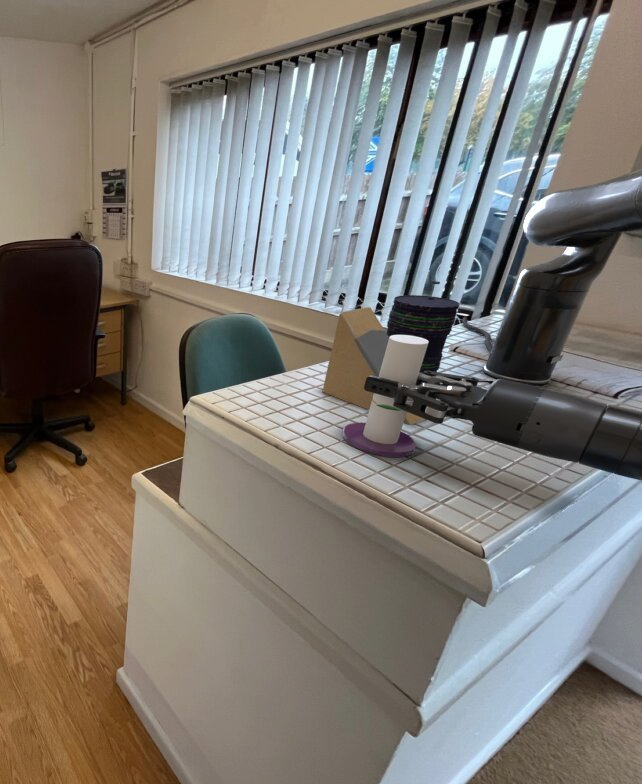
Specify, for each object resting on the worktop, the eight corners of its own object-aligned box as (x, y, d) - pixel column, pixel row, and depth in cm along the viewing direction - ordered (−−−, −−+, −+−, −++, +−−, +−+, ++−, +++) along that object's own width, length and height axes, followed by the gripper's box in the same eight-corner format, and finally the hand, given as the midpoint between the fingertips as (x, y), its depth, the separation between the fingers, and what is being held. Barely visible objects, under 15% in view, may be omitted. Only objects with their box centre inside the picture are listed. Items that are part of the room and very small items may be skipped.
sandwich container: (411, 426, 72) (441, 334, 66) (320, 392, 84) (339, 312, 78) (441, 413, 75) (472, 325, 69) (350, 382, 88) (369, 305, 82)
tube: (356, 430, 69) (381, 335, 63) (383, 429, 70) (411, 334, 64) (376, 445, 65) (406, 345, 59) (405, 443, 66) (437, 343, 60)
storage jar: (425, 390, 84) (457, 292, 77) (365, 375, 91) (390, 284, 84) (441, 376, 90) (473, 283, 82) (384, 363, 97) (408, 277, 89)
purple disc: (344, 421, 74) (345, 417, 73) (413, 435, 69) (414, 431, 69) (340, 446, 67) (341, 441, 67) (416, 464, 62) (418, 459, 62)
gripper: (561, 375, 56) (399, 343, 69) (534, 407, 48) (357, 365, 61) (536, 429, 59) (386, 389, 72) (507, 468, 51) (344, 415, 64)
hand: (373, 378), depth 66 cm, fingers closed on tube, 4 cm apart
